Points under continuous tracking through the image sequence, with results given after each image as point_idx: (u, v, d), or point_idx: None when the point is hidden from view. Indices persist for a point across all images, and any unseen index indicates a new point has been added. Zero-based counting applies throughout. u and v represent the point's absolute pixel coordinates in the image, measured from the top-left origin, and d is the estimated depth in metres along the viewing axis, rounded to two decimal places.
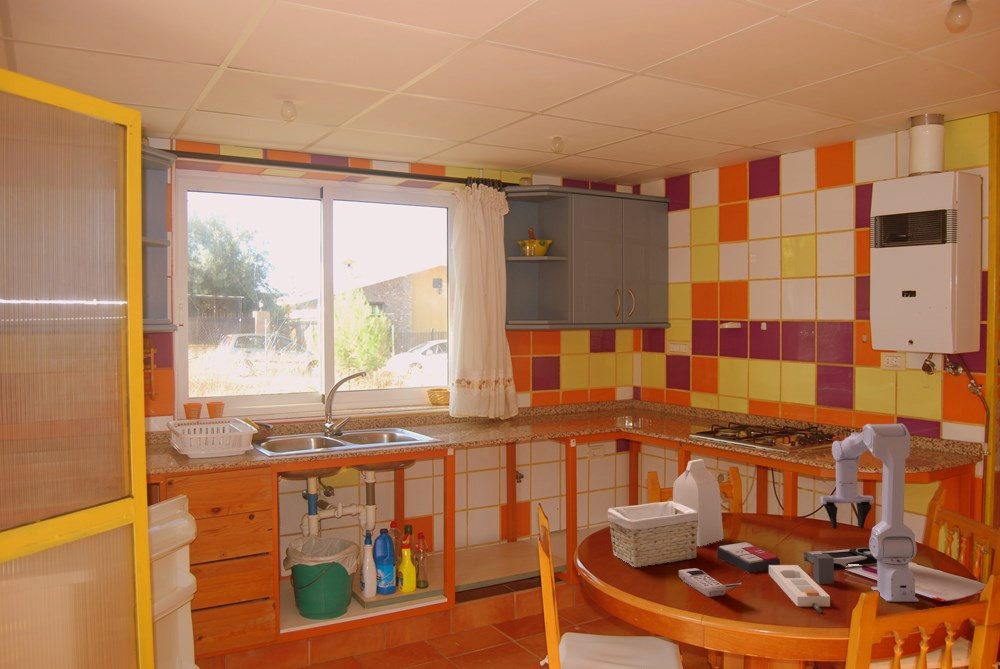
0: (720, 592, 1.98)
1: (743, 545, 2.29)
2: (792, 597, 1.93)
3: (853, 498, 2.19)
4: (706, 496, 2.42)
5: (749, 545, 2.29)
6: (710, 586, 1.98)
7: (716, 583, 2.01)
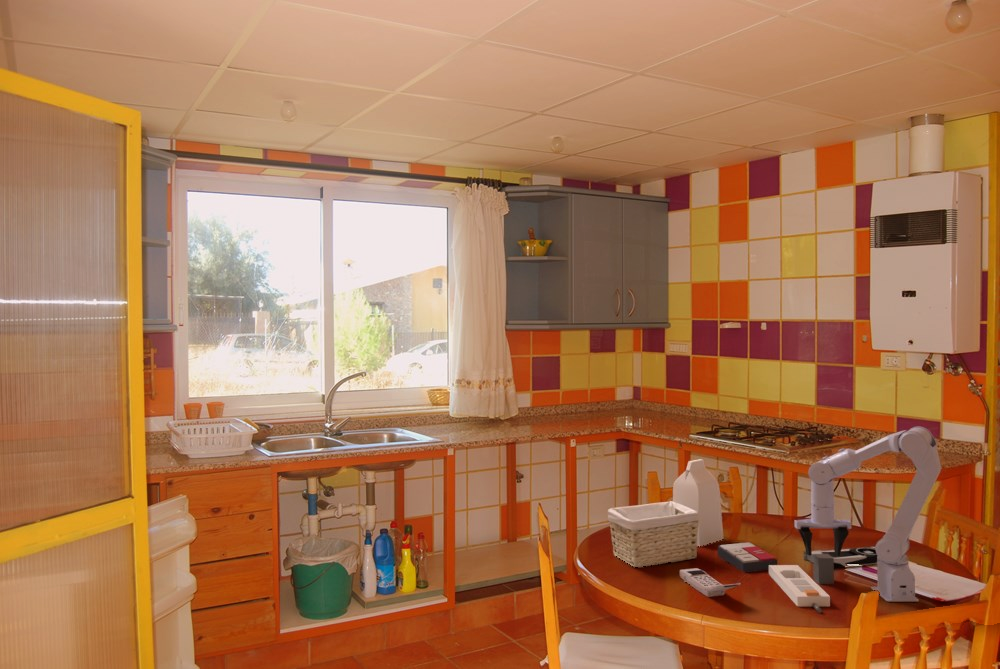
0: (720, 592, 1.98)
1: (744, 545, 2.29)
2: (792, 597, 1.93)
3: (829, 522, 2.03)
4: (706, 496, 2.42)
5: (751, 545, 2.28)
6: (710, 586, 1.98)
7: (716, 583, 2.00)
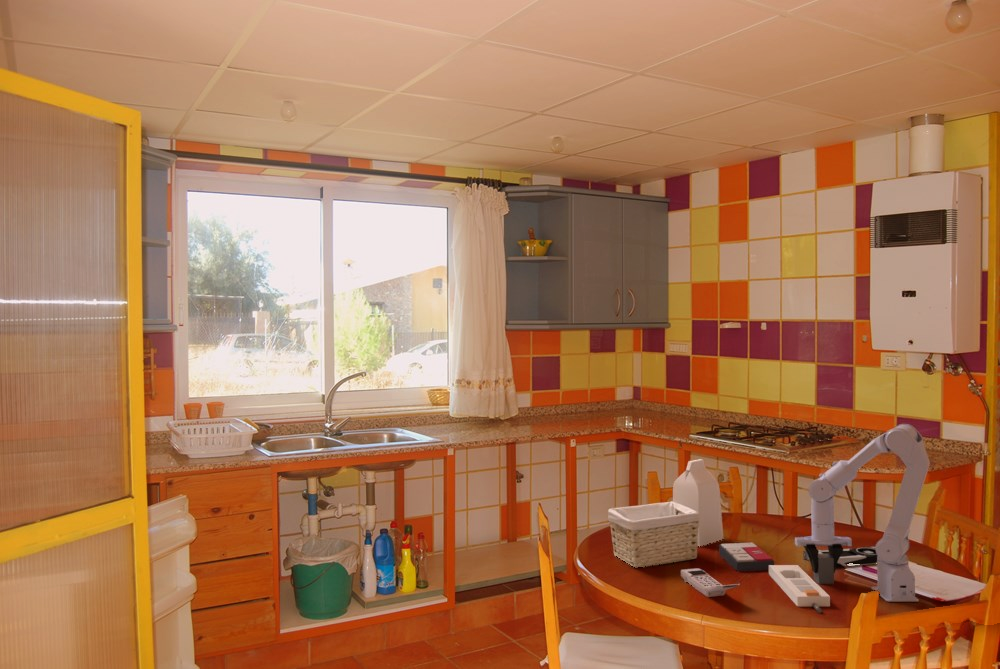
0: (720, 592, 1.98)
1: (746, 545, 2.29)
2: (792, 597, 1.93)
3: (829, 540, 2.03)
4: (706, 496, 2.42)
5: (753, 545, 2.28)
6: (710, 586, 1.98)
7: (716, 583, 2.00)
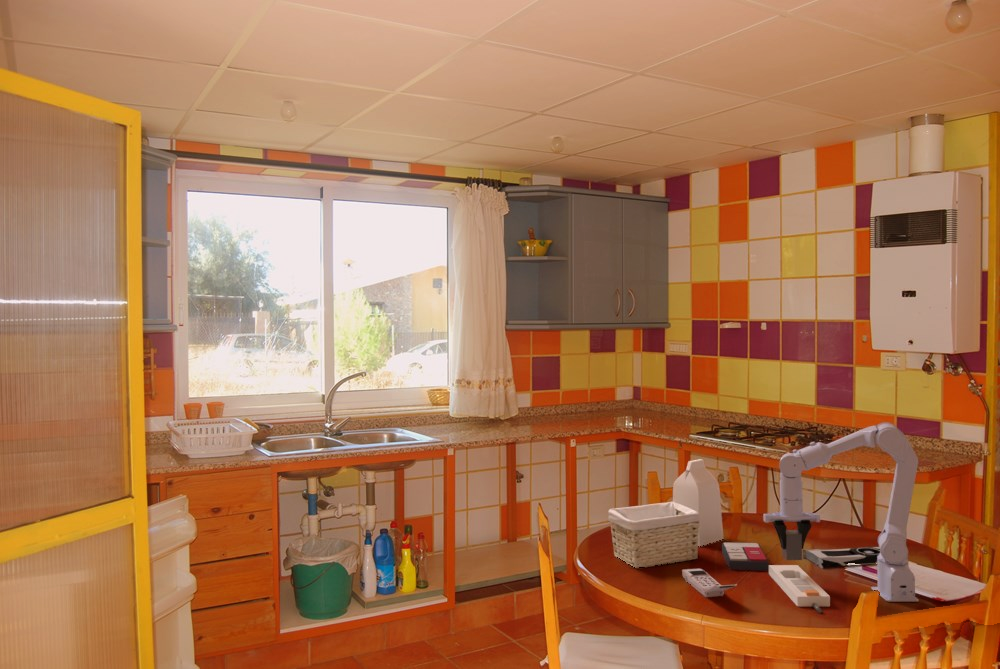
0: (718, 593, 1.97)
1: (749, 545, 2.29)
2: (792, 597, 1.93)
3: (797, 516, 2.02)
4: (706, 496, 2.42)
5: (755, 546, 2.28)
6: (708, 586, 1.98)
7: (715, 584, 2.00)
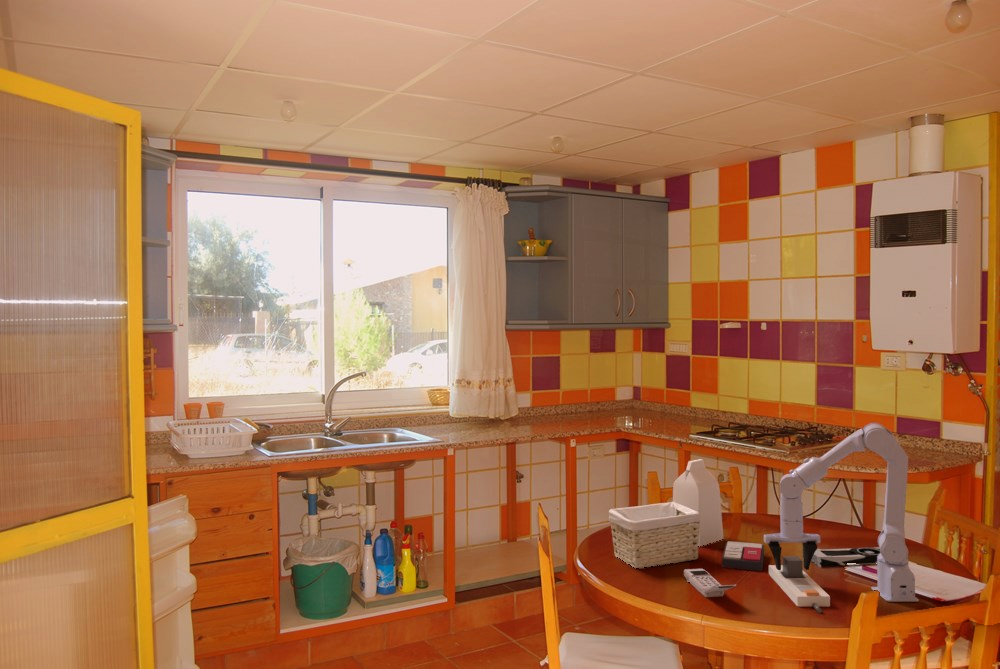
0: (718, 593, 1.97)
1: (752, 545, 2.28)
2: (792, 597, 1.93)
3: (797, 537, 2.02)
4: (706, 496, 2.42)
5: (757, 546, 2.27)
6: (708, 586, 1.98)
7: (716, 584, 2.00)
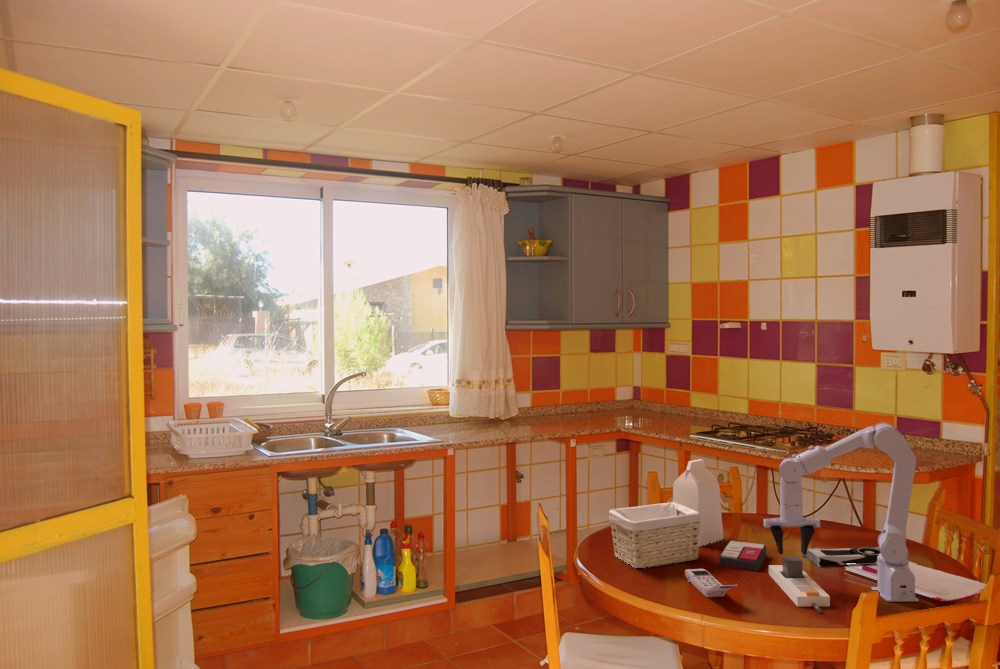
0: (719, 593, 1.97)
1: (753, 545, 2.28)
2: (792, 597, 1.93)
3: (797, 521, 2.02)
4: (706, 496, 2.42)
5: (759, 547, 2.27)
6: (709, 587, 1.98)
7: (717, 584, 2.00)
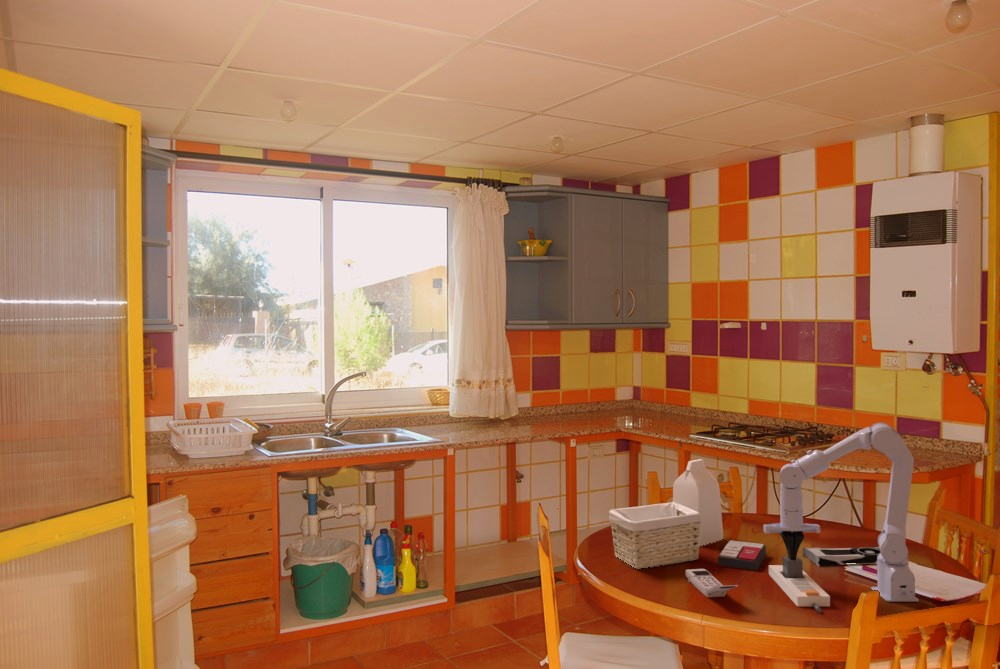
0: (720, 593, 1.97)
1: (752, 545, 2.28)
2: (792, 597, 1.93)
3: (797, 527, 2.02)
4: (706, 496, 2.42)
5: (758, 546, 2.27)
6: (710, 587, 1.98)
7: (718, 584, 2.00)
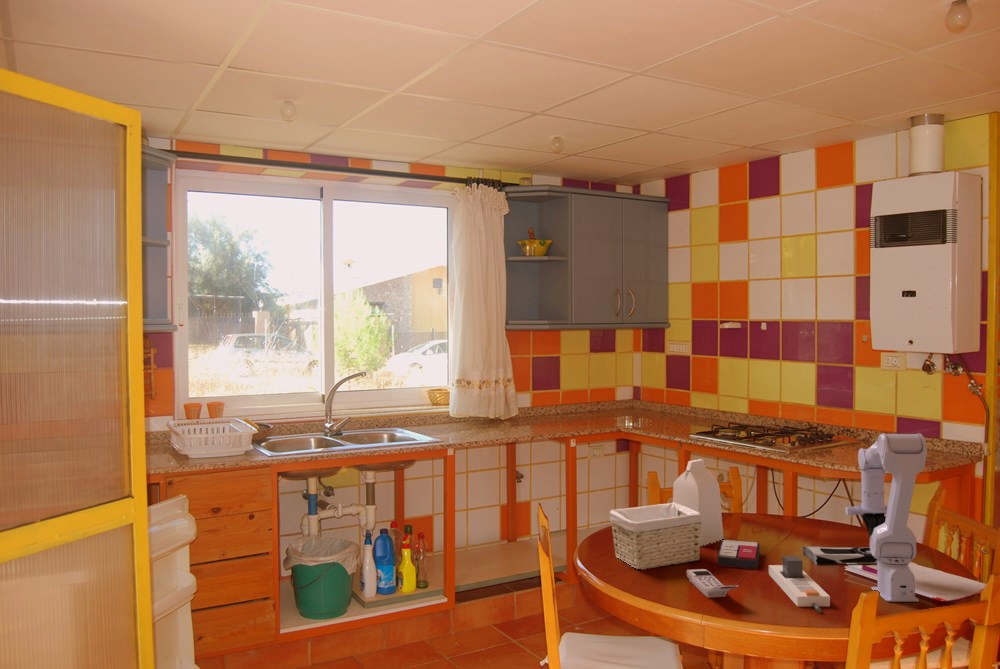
0: (721, 594, 1.97)
1: (747, 543, 2.30)
2: (792, 597, 1.93)
3: (880, 509, 2.08)
4: (706, 496, 2.42)
5: (753, 545, 2.29)
6: (711, 587, 1.98)
7: (718, 584, 1.99)
